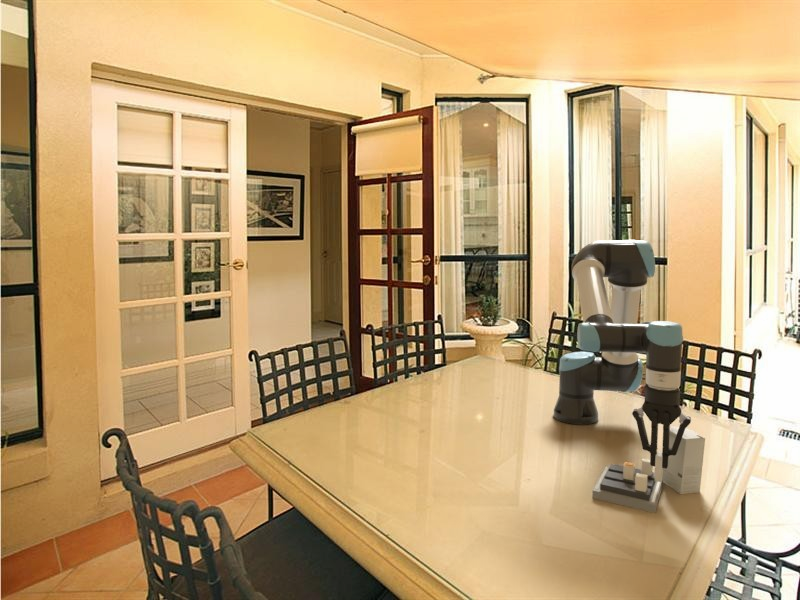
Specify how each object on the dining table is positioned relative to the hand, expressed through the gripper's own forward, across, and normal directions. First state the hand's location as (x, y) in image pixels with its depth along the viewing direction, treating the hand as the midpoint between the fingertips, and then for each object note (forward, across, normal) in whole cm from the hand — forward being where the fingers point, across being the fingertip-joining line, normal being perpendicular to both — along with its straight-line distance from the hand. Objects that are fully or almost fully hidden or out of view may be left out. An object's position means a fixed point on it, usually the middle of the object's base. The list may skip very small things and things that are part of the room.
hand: (658, 479), depth 128 cm
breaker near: (+1, -3, -5) cm, 6 cm away
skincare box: (+5, +4, +10) cm, 12 cm away
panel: (+5, -7, 0) cm, 8 cm away
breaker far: (+1, -3, +5) cm, 6 cm away
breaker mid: (+1, -7, 0) cm, 7 cm away
